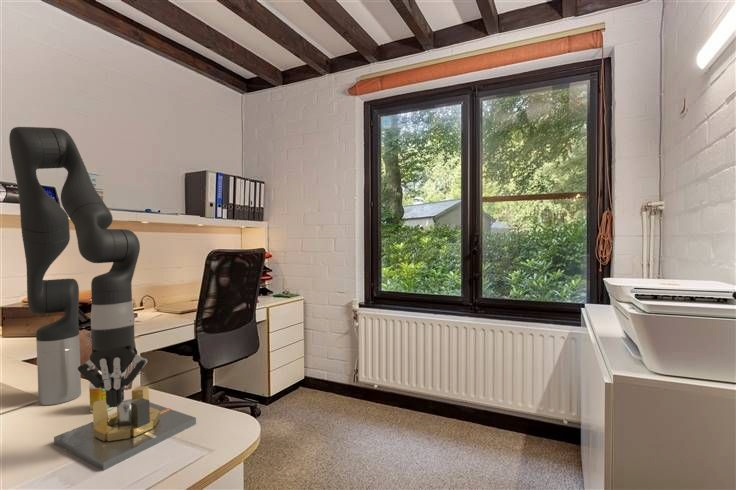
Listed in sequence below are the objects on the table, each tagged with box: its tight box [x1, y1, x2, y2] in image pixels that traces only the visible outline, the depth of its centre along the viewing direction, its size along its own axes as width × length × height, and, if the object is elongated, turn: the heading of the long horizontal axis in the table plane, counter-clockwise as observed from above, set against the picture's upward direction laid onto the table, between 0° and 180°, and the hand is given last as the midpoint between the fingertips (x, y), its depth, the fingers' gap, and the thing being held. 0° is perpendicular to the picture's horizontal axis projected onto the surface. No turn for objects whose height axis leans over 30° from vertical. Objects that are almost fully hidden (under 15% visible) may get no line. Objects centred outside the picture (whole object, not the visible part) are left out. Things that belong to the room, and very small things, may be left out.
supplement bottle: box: [88, 369, 115, 414], centre depth 98 cm, size 5×5×10 cm
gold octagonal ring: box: [92, 385, 160, 441], centre depth 85 cm, size 12×12×7 cm
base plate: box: [53, 398, 197, 471], centre depth 85 cm, size 20×20×7 cm
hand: (115, 405), depth 80 cm, fingers closed
